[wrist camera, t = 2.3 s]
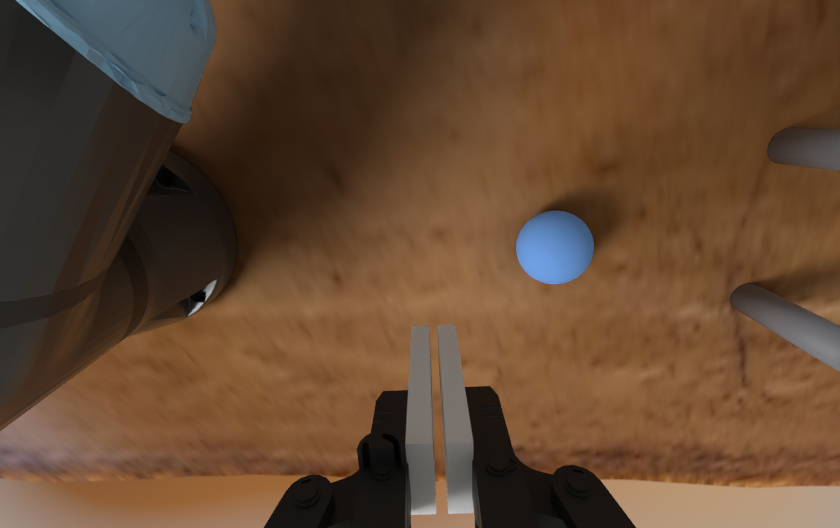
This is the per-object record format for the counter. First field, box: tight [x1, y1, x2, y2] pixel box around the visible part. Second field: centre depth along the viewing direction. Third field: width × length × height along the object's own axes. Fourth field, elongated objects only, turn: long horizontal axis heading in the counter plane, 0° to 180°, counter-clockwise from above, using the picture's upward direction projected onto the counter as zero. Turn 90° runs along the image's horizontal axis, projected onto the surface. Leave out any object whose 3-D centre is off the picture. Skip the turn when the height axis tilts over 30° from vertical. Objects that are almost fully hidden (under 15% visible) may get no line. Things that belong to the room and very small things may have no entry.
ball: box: [516, 211, 594, 284], centre depth 30 cm, size 6×6×6 cm
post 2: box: [730, 283, 840, 371], centre depth 30 cm, size 3×3×9 cm
